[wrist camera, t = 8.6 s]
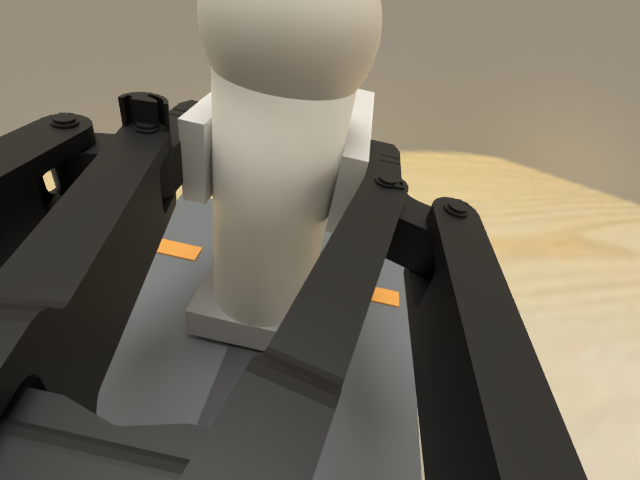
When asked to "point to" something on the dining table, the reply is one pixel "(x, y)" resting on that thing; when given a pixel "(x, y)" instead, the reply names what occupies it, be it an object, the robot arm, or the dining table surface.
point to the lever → (275, 150)
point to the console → (230, 360)
